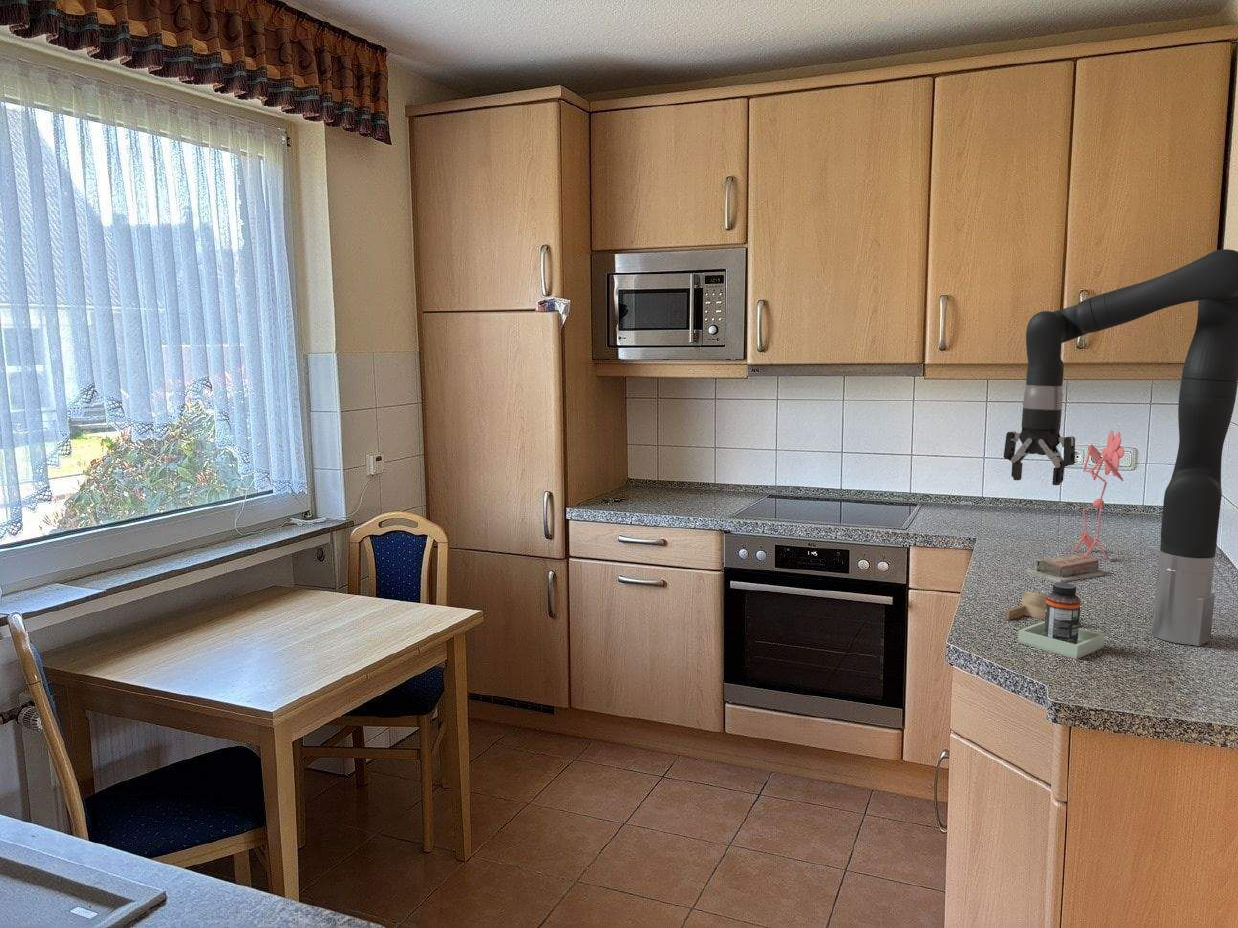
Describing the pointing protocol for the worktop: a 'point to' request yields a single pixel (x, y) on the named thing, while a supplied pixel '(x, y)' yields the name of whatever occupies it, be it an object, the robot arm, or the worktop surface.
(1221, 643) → the worktop surface
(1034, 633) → the sage tray
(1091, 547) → the figurine
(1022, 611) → the wooden footstool
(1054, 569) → the packaged product
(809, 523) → the worktop surface
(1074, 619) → the supplement bottle
